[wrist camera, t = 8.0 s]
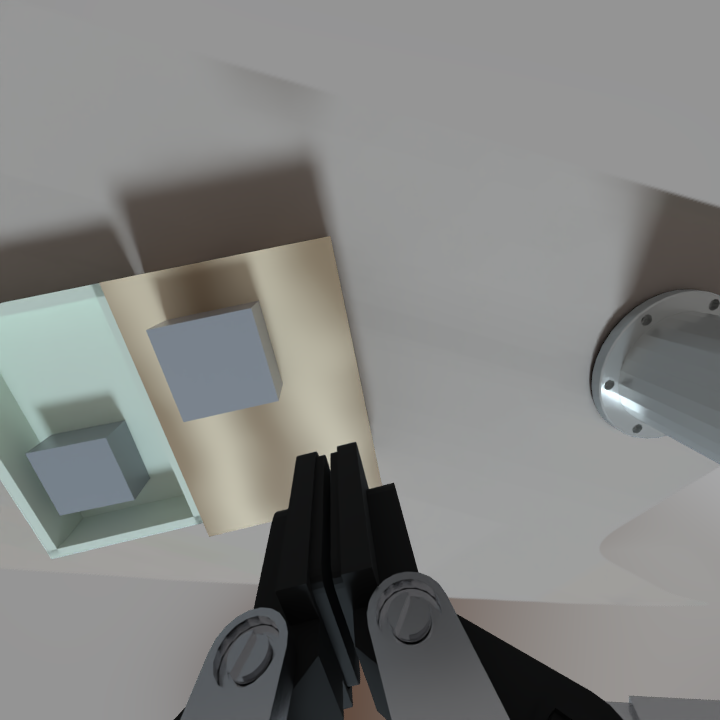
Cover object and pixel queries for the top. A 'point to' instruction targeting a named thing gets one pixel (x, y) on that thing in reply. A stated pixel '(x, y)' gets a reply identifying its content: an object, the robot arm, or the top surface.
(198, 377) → the tile
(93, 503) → the tile
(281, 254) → the board
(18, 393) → the tray
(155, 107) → the top surface
